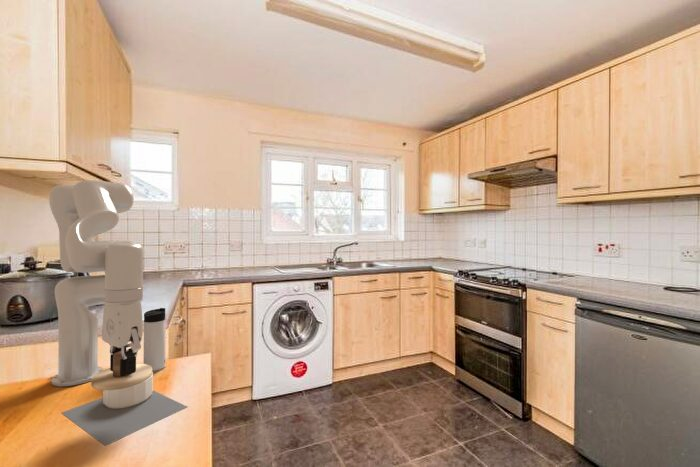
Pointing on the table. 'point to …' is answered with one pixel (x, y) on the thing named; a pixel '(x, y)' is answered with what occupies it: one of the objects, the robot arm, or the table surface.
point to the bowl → (128, 395)
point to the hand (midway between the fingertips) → (123, 370)
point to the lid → (114, 380)
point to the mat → (121, 417)
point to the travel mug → (155, 339)
